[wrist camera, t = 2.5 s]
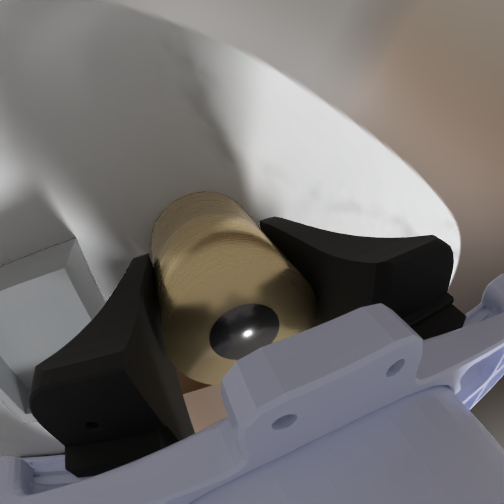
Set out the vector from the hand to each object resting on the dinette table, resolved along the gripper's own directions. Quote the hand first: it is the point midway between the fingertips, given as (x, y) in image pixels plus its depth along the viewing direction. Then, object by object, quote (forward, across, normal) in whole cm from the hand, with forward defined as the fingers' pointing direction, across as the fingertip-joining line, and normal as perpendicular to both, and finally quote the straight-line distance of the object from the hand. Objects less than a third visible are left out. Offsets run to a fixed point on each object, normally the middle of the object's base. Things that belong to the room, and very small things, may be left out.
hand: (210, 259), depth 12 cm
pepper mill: (+2, 0, 0) cm, 2 cm away
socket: (+2, +9, +2) cm, 9 cm away
